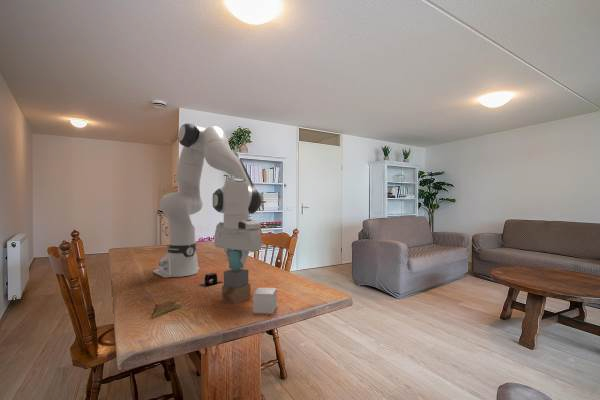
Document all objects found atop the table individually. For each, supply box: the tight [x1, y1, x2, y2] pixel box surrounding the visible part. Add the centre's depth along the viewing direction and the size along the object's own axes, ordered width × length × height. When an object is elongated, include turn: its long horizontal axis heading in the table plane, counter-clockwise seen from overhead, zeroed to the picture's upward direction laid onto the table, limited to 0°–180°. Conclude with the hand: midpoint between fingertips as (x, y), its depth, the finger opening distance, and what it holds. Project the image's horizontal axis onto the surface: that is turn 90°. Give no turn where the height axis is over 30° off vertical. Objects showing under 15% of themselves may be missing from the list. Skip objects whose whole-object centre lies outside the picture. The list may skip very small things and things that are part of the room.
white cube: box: [253, 287, 278, 315], centre depth 87 cm, size 6×6×6 cm
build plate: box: [198, 272, 224, 288], centre depth 115 cm, size 12×7×5 cm, turn 141°
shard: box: [151, 299, 183, 319], centre depth 87 cm, size 11×8×2 cm
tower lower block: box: [221, 283, 251, 304], centre depth 97 cm, size 7×7×5 cm
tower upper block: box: [223, 268, 249, 288], centre depth 97 cm, size 6×6×5 cm
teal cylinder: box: [228, 249, 245, 270], centre depth 97 cm, size 5×5×6 cm
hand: (236, 262), depth 97 cm, fingers closed on teal cylinder, 5 cm apart
